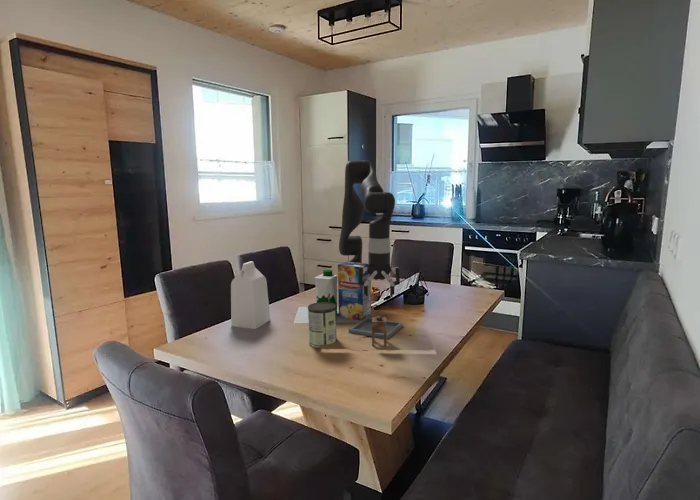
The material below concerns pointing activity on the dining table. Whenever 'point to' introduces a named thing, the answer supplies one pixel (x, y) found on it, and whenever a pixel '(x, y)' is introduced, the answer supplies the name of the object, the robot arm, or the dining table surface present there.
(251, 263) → the milk
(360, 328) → the tray
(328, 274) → the milk carton
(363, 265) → the juice carton
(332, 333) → the coffee can
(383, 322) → the wooden stool
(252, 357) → the dining table surface
